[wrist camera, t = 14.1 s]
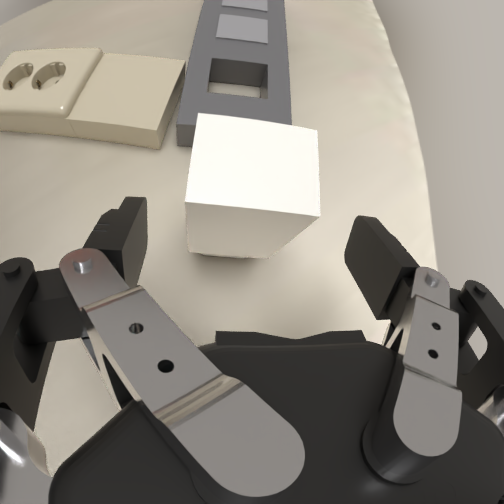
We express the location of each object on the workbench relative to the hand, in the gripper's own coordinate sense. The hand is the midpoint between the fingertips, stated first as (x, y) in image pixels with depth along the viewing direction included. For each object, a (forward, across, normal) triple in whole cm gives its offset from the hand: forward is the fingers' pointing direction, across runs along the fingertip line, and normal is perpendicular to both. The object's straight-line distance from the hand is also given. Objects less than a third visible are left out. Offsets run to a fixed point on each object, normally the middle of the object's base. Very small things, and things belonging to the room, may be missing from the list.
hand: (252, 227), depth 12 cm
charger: (+9, 0, +6) cm, 10 cm away
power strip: (+23, 0, -9) cm, 24 cm away
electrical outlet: (+17, +14, -2) cm, 22 cm away
